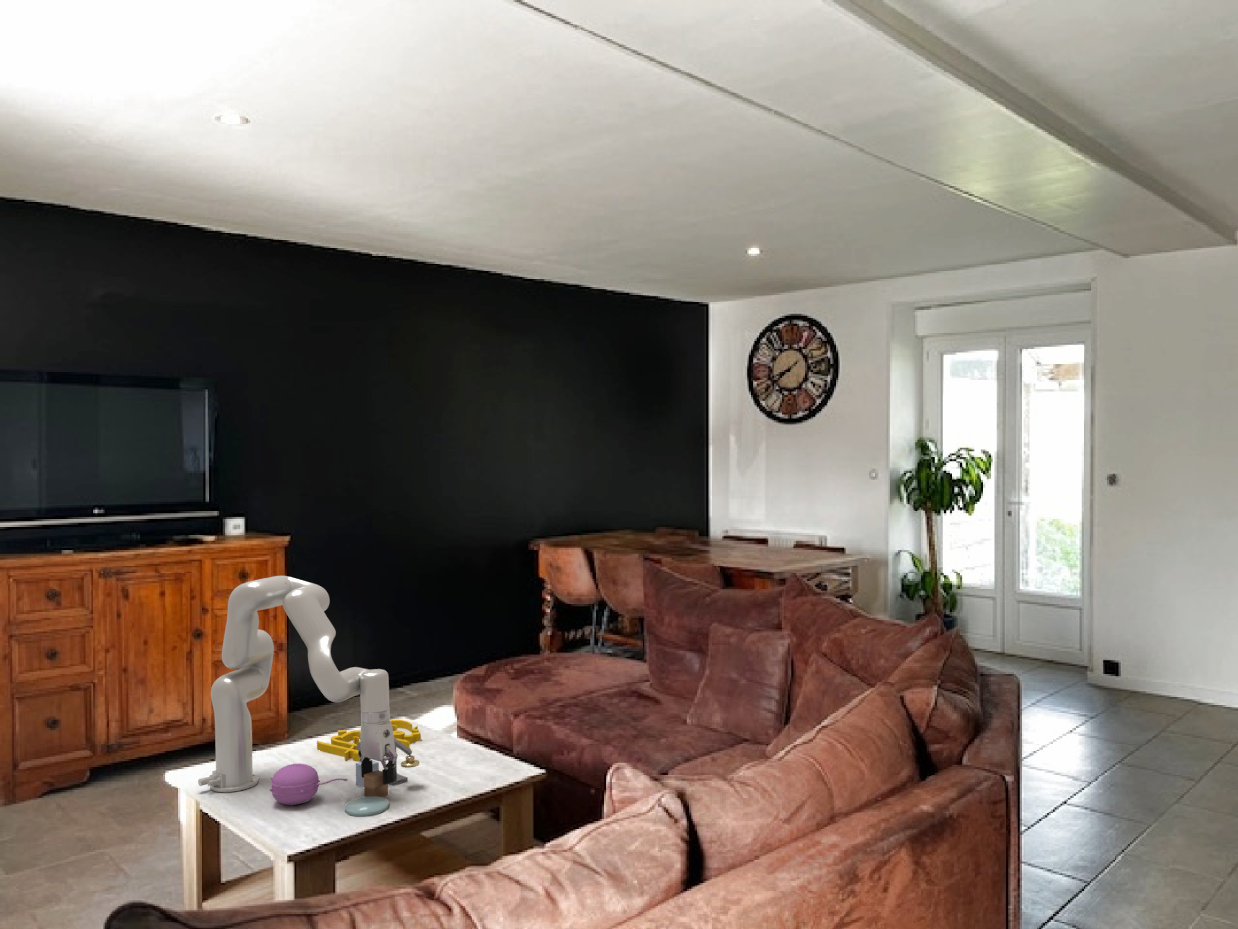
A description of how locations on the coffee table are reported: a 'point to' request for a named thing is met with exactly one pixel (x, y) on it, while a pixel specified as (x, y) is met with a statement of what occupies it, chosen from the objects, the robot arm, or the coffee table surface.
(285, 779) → the purple ovoid with tail
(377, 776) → the walnut block
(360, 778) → the greyblue block
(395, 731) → the decorative art
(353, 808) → the dish
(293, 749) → the coffee table surface
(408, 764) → the balance
